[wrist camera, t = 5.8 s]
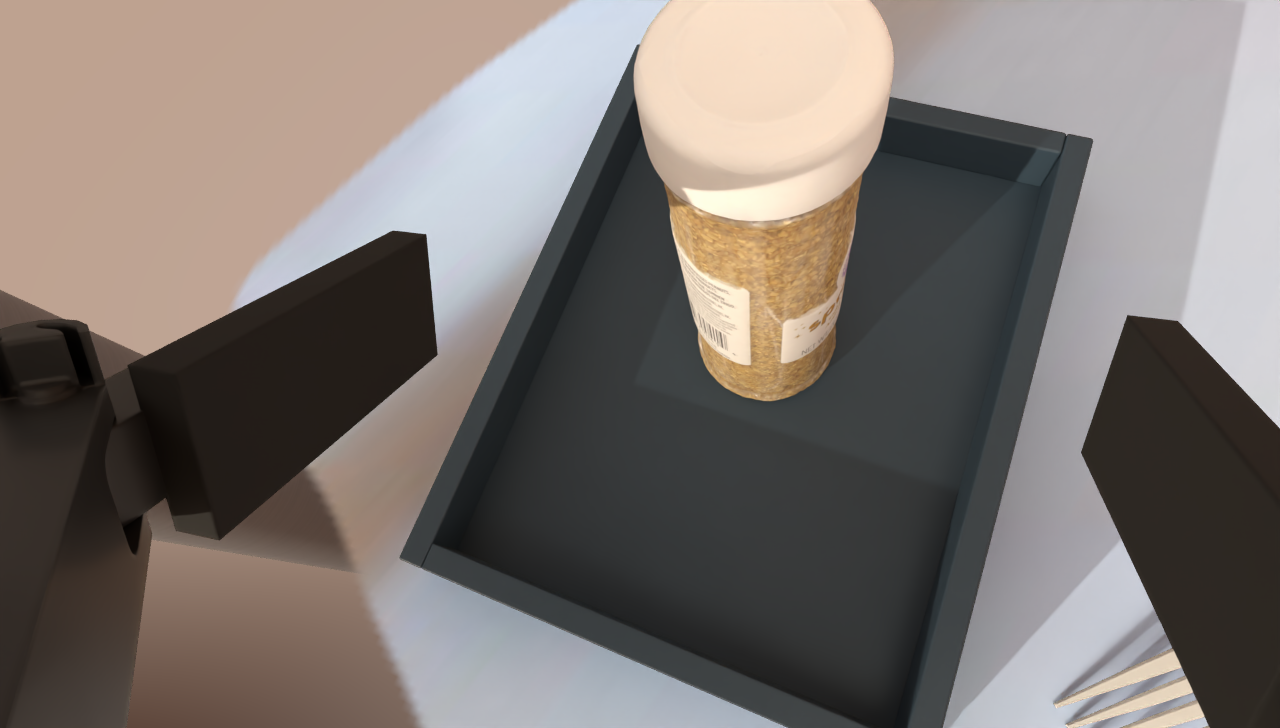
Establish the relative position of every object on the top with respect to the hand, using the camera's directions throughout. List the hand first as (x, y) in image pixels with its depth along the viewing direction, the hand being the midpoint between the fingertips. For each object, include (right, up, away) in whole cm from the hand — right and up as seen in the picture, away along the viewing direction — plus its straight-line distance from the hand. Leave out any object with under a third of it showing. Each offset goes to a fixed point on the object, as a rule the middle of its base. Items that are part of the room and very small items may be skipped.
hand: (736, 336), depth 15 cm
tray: (+2, -1, +11) cm, 11 cm away
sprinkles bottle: (+2, 0, +11) cm, 11 cm away
